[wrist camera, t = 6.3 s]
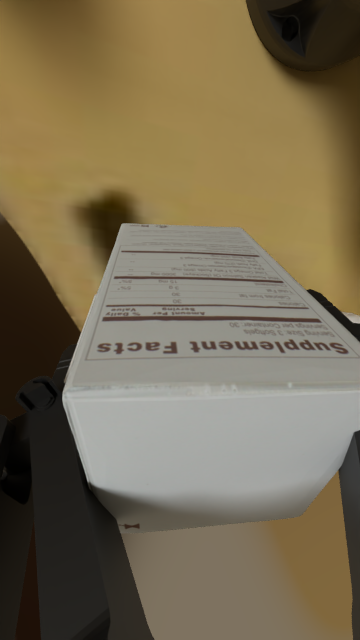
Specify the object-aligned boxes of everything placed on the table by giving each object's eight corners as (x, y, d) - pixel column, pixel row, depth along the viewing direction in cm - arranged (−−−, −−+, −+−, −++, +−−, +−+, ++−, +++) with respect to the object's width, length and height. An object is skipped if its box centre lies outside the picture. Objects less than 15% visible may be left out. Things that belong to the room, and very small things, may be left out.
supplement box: (223, 322, 20) (302, 523, 9) (125, 322, 19) (95, 541, 9) (244, 223, 16) (426, 390, 5) (119, 217, 15) (44, 401, 4)
